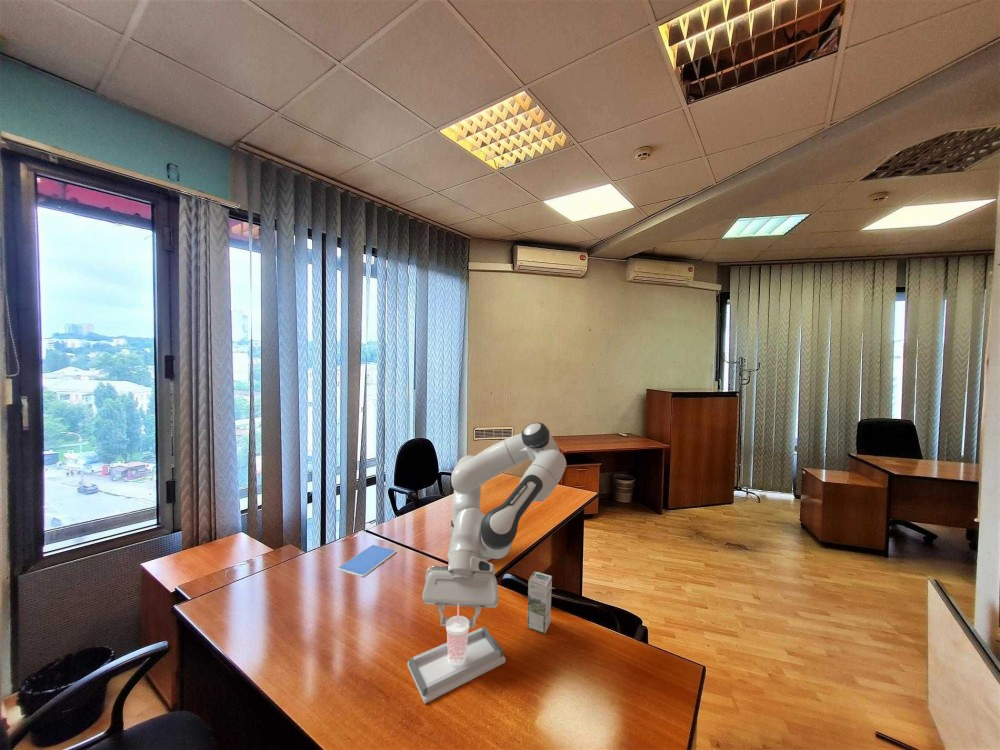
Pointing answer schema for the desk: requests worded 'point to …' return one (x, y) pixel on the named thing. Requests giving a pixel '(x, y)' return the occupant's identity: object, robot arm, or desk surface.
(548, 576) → the syrup box
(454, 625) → the beverage cup
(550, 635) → the desk surface
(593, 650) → the desk surface
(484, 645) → the rectangular tray
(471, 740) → the desk surface
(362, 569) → the tablet computer
